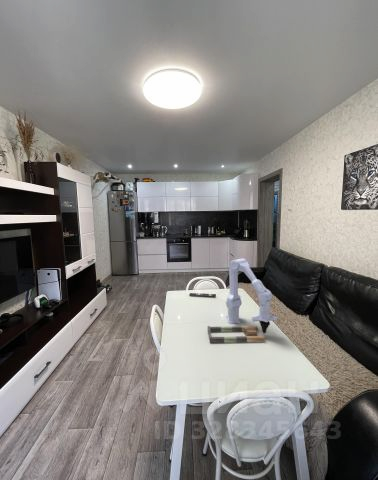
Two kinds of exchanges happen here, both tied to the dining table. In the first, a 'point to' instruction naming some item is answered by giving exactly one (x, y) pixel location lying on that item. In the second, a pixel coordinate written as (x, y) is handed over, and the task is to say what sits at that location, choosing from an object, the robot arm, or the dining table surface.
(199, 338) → the dining table surface
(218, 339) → the trap lane
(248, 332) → the tan wooden block
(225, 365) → the dining table surface
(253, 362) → the dining table surface
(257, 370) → the dining table surface
